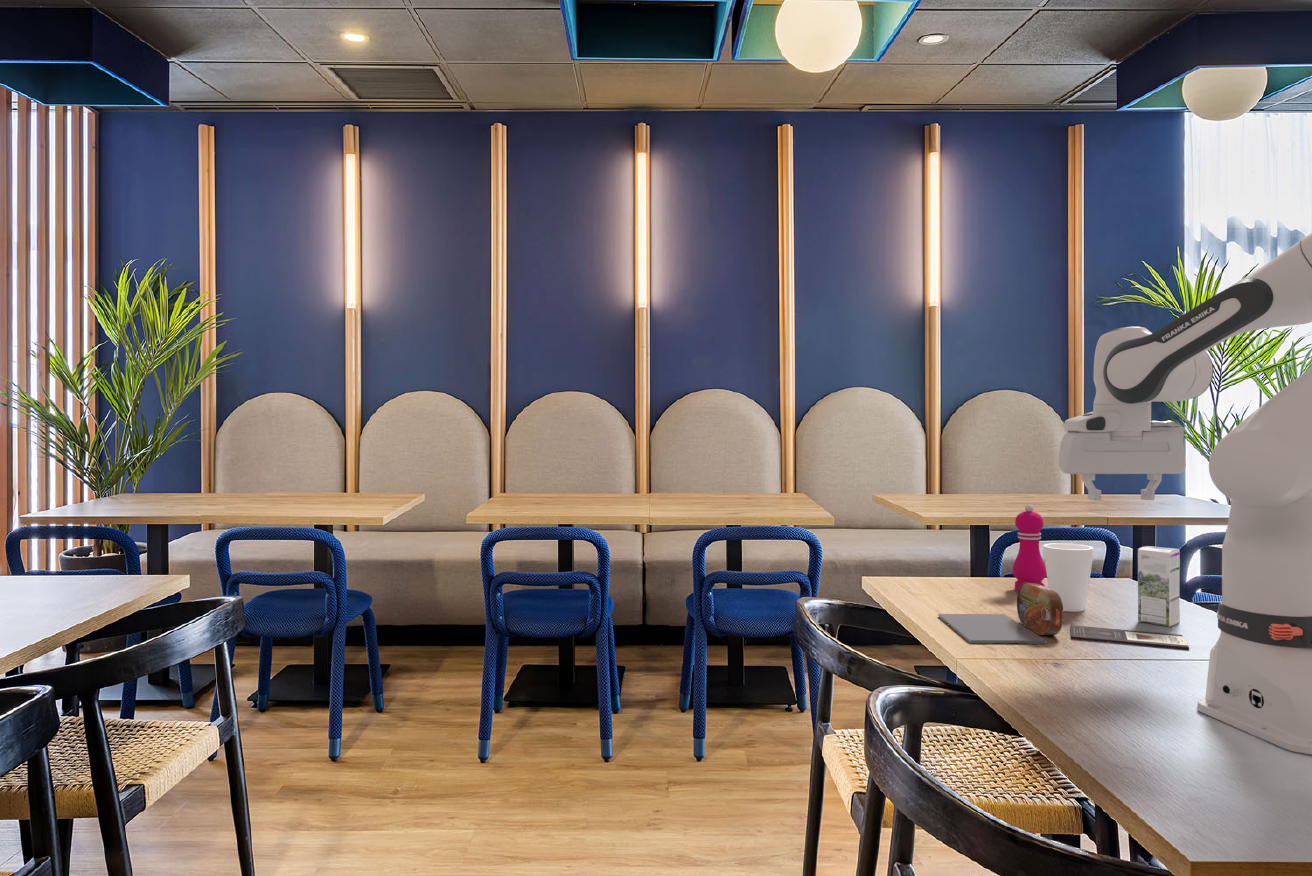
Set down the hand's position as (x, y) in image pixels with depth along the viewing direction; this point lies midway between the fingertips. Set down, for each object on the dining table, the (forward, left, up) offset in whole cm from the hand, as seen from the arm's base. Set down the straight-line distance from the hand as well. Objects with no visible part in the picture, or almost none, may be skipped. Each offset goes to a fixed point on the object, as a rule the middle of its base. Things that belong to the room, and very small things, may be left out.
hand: (1121, 499), depth 144 cm
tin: (+10, +10, -26) cm, 29 cm away
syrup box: (+16, -15, -26) cm, 34 cm away
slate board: (+10, +20, -26) cm, 34 cm away
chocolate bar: (+4, -3, -26) cm, 27 cm away
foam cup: (+28, -3, -26) cm, 38 cm away
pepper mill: (+46, -2, -26) cm, 53 cm away
